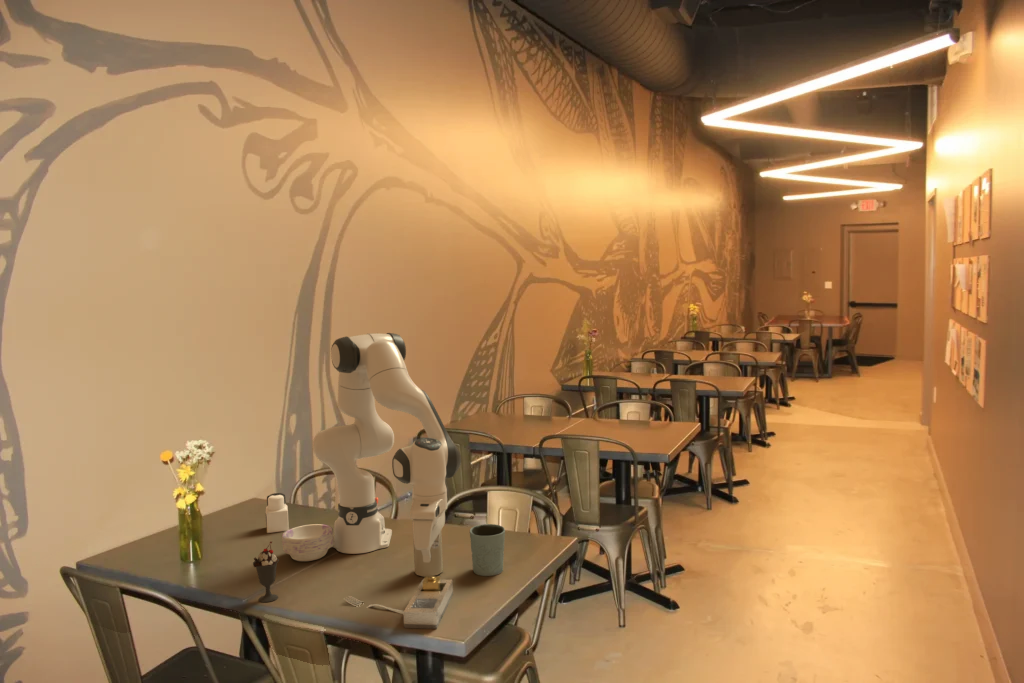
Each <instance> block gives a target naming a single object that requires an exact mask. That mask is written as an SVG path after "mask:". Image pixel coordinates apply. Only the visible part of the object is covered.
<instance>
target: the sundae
mask: <svg viewBox="0 0 1024 683" xmlns="http://www.w3.org/2000/svg"><path fill="white" fill-rule="evenodd" d="M272 543H273V541H269V544H268V545H267V547H266V548H263V551H261V552H260V553H259V554H258V556H257V557H254V558H253V562H252V564H253V567H254V568H255V569H256V571H257V572H256V573H257V577H258V581H259V584H260V585H262V586H264V588H265V594H264V595H261V596H260V597H259V598H258V601H259V602H260V603H270V602H271V603H272V602H275V601H276V600H277V599H278V598H279V596H278V594H275V593H271V586H272V585H273V584H274V582H275V581H276V576H277V567H278V566H277V565H278V563H279V561H280V559H279V558H277V556H276V555H275V554H274V550H273V549H272ZM269 546H270V547H269ZM268 547H269V549H268Z"/></svg>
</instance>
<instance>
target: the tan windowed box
mask: <svg viewBox="0 0 1024 683" xmlns="http://www.w3.org/2000/svg"><path fill="white" fill-rule="evenodd" d="M423 580H424V578H423V579H422V580H421V582H420V583H419V585H418V587H417V588H416V590H415V592H414V593H413V595H412V597H411V599H410V600H409V601H408V604H407V605H406V607H405V609H404V610H403V611H404V612H403V613H404V614H403V628H404V629H428V630H429V629H431V630H436V629H438V627H439V625H440V623H441V621H442V619H443V616H444V614H445V612H446V610H447V608H448V607H449V604H450V602H451V600H452V599H453V596H454V583H453V579H440V583H441V592H436V591H423Z"/></svg>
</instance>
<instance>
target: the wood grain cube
mask: <svg viewBox="0 0 1024 683" xmlns="http://www.w3.org/2000/svg"><path fill="white" fill-rule="evenodd" d="M423 579H424V580H423ZM423 579H422V580H423V591H436V592H441V583H440V580H441V576H439V575H436V576H428V577H423Z"/></svg>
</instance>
